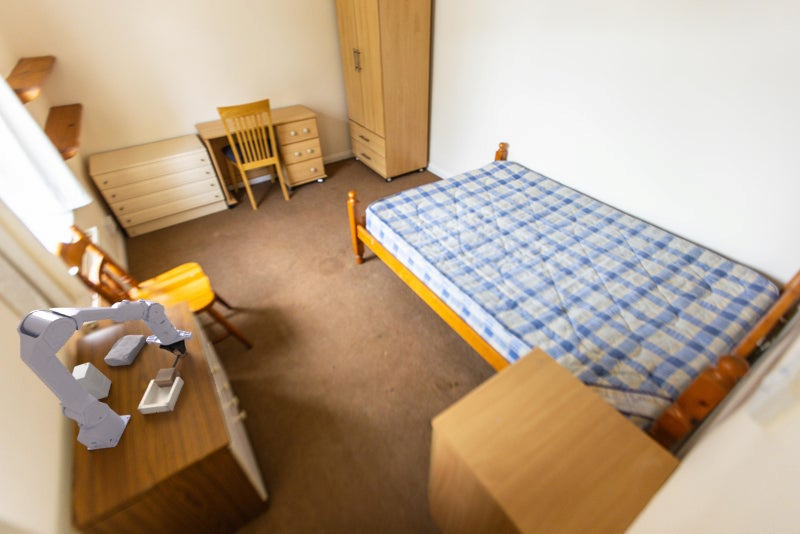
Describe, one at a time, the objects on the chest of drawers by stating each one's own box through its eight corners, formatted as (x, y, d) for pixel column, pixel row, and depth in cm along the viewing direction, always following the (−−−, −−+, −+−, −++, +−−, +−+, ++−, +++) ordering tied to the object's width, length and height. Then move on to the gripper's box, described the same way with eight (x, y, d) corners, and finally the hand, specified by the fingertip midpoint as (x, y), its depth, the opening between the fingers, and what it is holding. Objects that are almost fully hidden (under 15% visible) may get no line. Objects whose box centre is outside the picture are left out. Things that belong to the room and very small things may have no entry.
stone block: (108, 369, 124) (132, 365, 123) (98, 361, 121) (122, 357, 120) (128, 343, 133) (151, 339, 132) (119, 335, 131) (142, 331, 129)
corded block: (176, 386, 116) (169, 379, 113) (160, 388, 115) (154, 381, 112) (191, 350, 127) (186, 343, 124) (177, 351, 126) (171, 344, 123)
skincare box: (97, 386, 117) (74, 366, 109) (112, 381, 118) (90, 361, 110) (93, 401, 113) (68, 382, 105) (108, 396, 114) (84, 377, 106)
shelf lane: (172, 410, 110) (167, 405, 107) (143, 414, 109) (137, 408, 107) (184, 382, 117) (179, 376, 115) (156, 385, 117) (151, 379, 114)
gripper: (189, 316, 119) (205, 341, 128) (145, 321, 118) (164, 345, 127) (181, 333, 114) (198, 357, 123) (135, 337, 113) (156, 361, 122)
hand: (181, 352), depth 124 cm, fingers closed on corded block, 2 cm apart
